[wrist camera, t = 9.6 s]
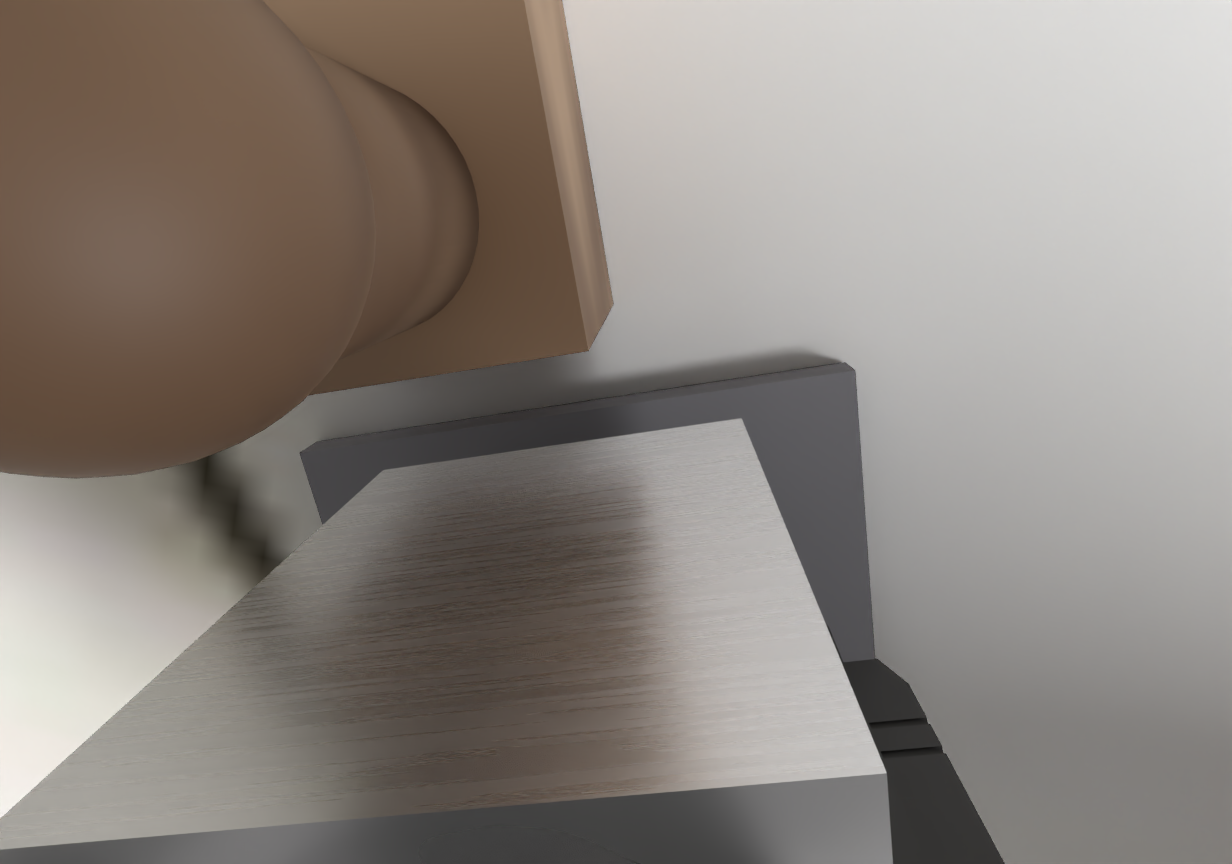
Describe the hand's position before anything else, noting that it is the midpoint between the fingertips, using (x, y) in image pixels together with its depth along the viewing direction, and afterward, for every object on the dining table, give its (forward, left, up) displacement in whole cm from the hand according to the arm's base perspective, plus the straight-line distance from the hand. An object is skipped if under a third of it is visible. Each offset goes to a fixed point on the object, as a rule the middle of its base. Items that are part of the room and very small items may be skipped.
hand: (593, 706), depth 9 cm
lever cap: (0, 0, -1) cm, 1 cm away
